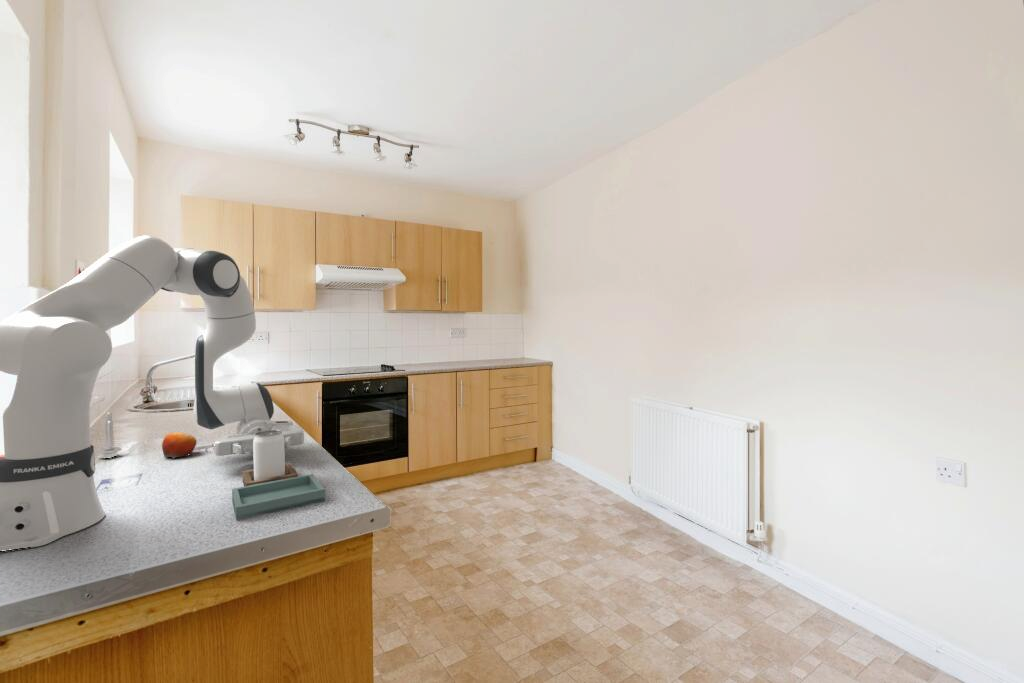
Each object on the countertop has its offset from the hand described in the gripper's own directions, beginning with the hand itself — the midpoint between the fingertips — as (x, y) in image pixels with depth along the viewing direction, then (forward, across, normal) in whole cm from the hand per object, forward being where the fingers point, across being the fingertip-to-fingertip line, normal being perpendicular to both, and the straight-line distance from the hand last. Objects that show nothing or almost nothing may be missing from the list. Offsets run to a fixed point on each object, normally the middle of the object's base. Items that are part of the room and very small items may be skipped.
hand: (264, 447), depth 111 cm
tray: (+20, 0, +7) cm, 21 cm away
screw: (-43, -34, +7) cm, 55 cm away
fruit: (-33, -18, +7) cm, 38 cm away
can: (+7, 0, +7) cm, 10 cm away
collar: (+7, 0, +7) cm, 10 cm away
